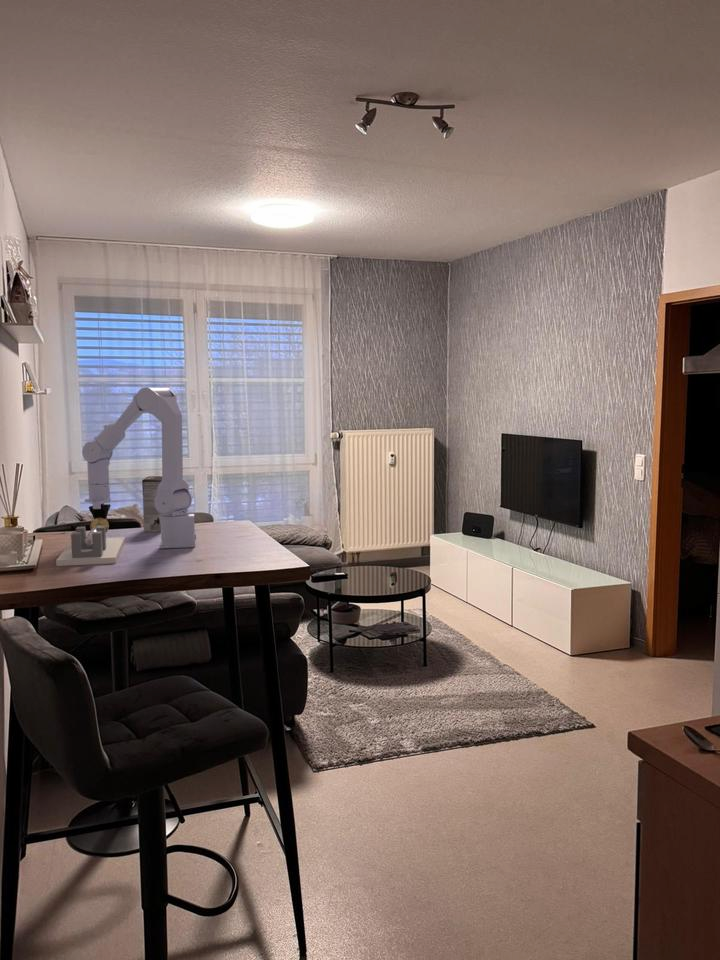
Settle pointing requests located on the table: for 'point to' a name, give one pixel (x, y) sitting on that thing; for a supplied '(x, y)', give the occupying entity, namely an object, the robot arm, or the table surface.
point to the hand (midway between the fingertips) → (100, 530)
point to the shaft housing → (91, 549)
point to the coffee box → (151, 504)
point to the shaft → (96, 522)
